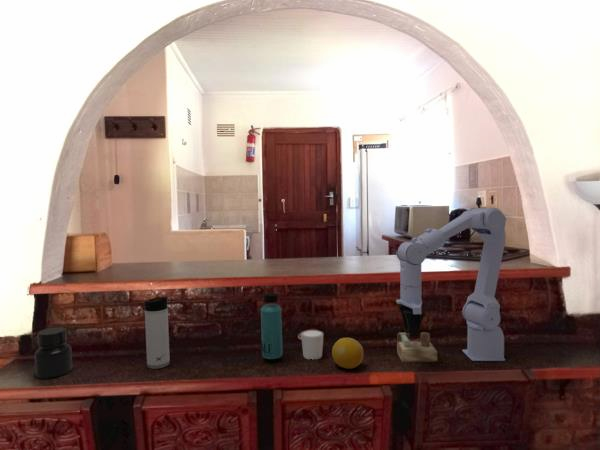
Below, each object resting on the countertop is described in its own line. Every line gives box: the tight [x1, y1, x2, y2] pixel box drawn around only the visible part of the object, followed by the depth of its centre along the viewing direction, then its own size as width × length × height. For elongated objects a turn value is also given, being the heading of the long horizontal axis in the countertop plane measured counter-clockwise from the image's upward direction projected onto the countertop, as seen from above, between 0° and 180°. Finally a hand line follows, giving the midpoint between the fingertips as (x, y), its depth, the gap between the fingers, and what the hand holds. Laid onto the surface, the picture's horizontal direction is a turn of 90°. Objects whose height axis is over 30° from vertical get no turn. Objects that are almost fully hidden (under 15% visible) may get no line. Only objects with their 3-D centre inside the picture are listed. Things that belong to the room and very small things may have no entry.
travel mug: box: [144, 296, 171, 370], centre depth 116 cm, size 6×7×20 cm
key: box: [399, 332, 411, 346], centre depth 120 cm, size 2×6×2 cm, turn 178°
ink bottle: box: [34, 326, 73, 379], centre depth 112 cm, size 10×9×12 cm
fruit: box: [331, 337, 365, 370], centre depth 112 cm, size 9×8×8 cm
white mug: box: [300, 329, 325, 361], centre depth 121 cm, size 7×7×7 cm
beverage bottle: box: [260, 292, 284, 360], centre depth 118 cm, size 6×7×20 cm
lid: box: [398, 331, 437, 352], centre depth 118 cm, size 9×6×4 cm
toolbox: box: [396, 332, 438, 363], centre depth 119 cm, size 10×8×6 cm
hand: (410, 332), depth 112 cm, fingers open, 5 cm apart
